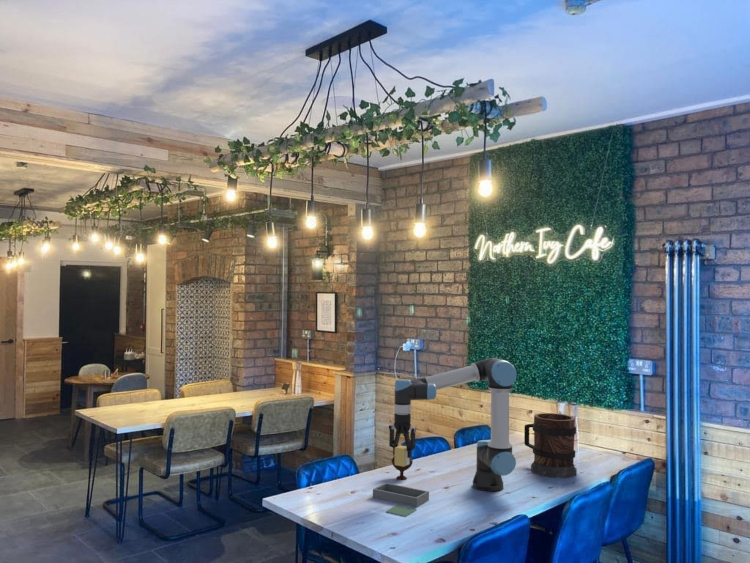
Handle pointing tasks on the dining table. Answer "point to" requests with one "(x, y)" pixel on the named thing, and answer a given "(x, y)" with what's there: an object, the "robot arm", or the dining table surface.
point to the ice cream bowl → (401, 469)
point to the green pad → (401, 510)
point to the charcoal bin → (401, 494)
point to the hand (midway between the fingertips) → (402, 463)
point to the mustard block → (400, 455)
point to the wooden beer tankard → (552, 445)
